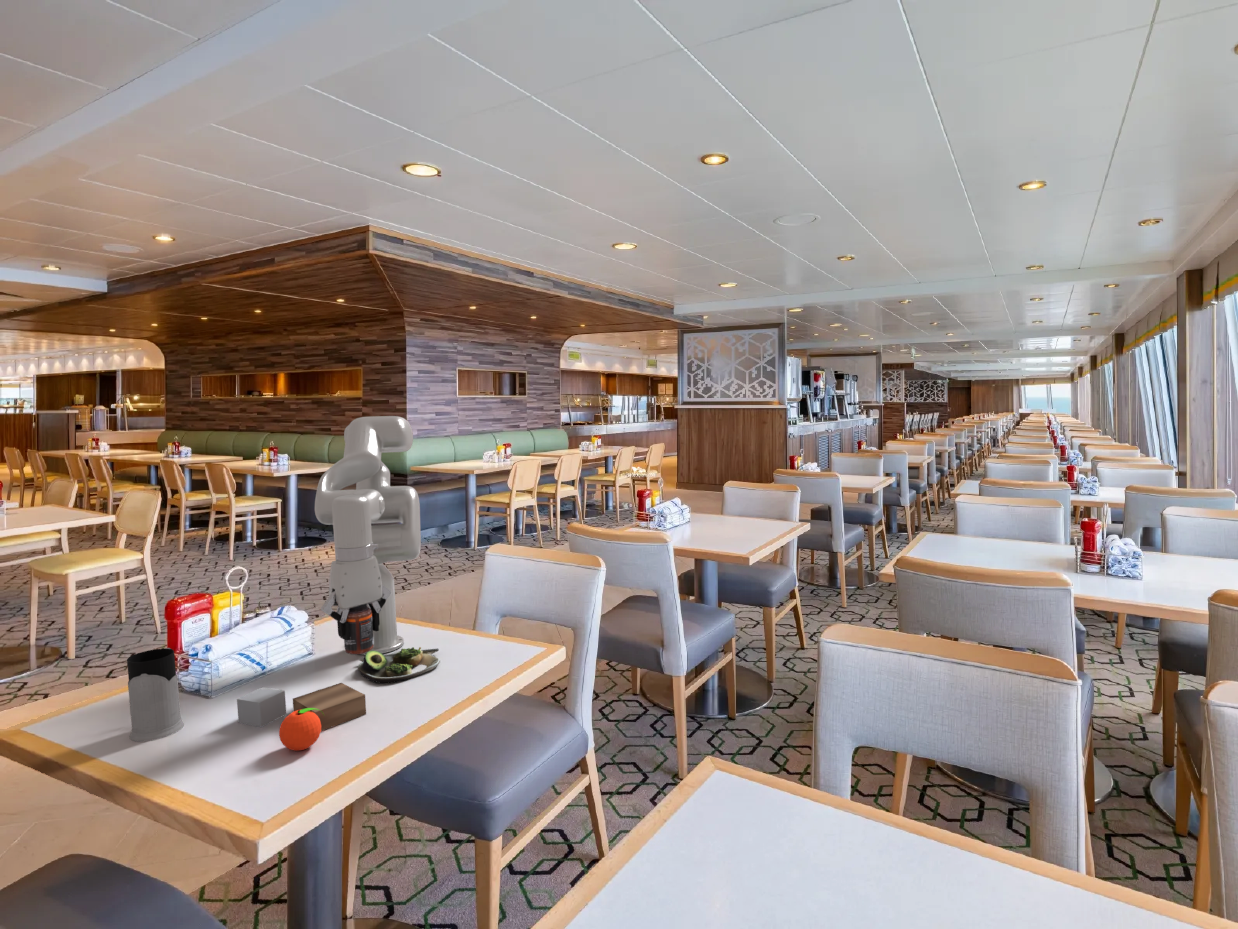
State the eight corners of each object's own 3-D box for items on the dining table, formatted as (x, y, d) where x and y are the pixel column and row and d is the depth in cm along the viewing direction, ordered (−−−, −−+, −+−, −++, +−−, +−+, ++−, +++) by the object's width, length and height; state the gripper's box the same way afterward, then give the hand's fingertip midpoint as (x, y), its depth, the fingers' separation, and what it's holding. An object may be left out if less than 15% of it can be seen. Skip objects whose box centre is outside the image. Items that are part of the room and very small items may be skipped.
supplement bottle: (378, 645, 151) (376, 596, 149) (366, 656, 145) (363, 605, 143) (352, 643, 151) (350, 594, 150) (339, 654, 145) (336, 604, 144)
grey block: (238, 723, 134) (236, 699, 134) (264, 710, 139) (262, 687, 139) (261, 727, 132) (259, 702, 131) (286, 714, 137) (284, 690, 137)
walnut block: (293, 718, 135) (292, 698, 135) (342, 701, 143) (341, 682, 142) (316, 732, 129) (315, 712, 128) (366, 714, 136) (365, 694, 136)
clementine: (316, 733, 128) (314, 696, 128) (335, 743, 124) (332, 706, 124) (273, 750, 122) (270, 712, 122) (291, 762, 118) (288, 722, 117)
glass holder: (121, 744, 126) (114, 666, 125) (151, 712, 140) (145, 641, 139) (174, 737, 129) (168, 660, 127) (199, 706, 142) (193, 636, 141)
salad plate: (423, 648, 175) (422, 630, 175) (459, 665, 162) (458, 647, 162) (348, 669, 162) (347, 650, 161) (381, 690, 149) (380, 670, 148)
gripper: (382, 543, 154) (387, 619, 156) (305, 558, 141) (312, 642, 143) (400, 547, 149) (404, 627, 151) (322, 564, 136) (328, 650, 138)
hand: (359, 633), depth 147 cm, fingers closed on supplement bottle, 6 cm apart
